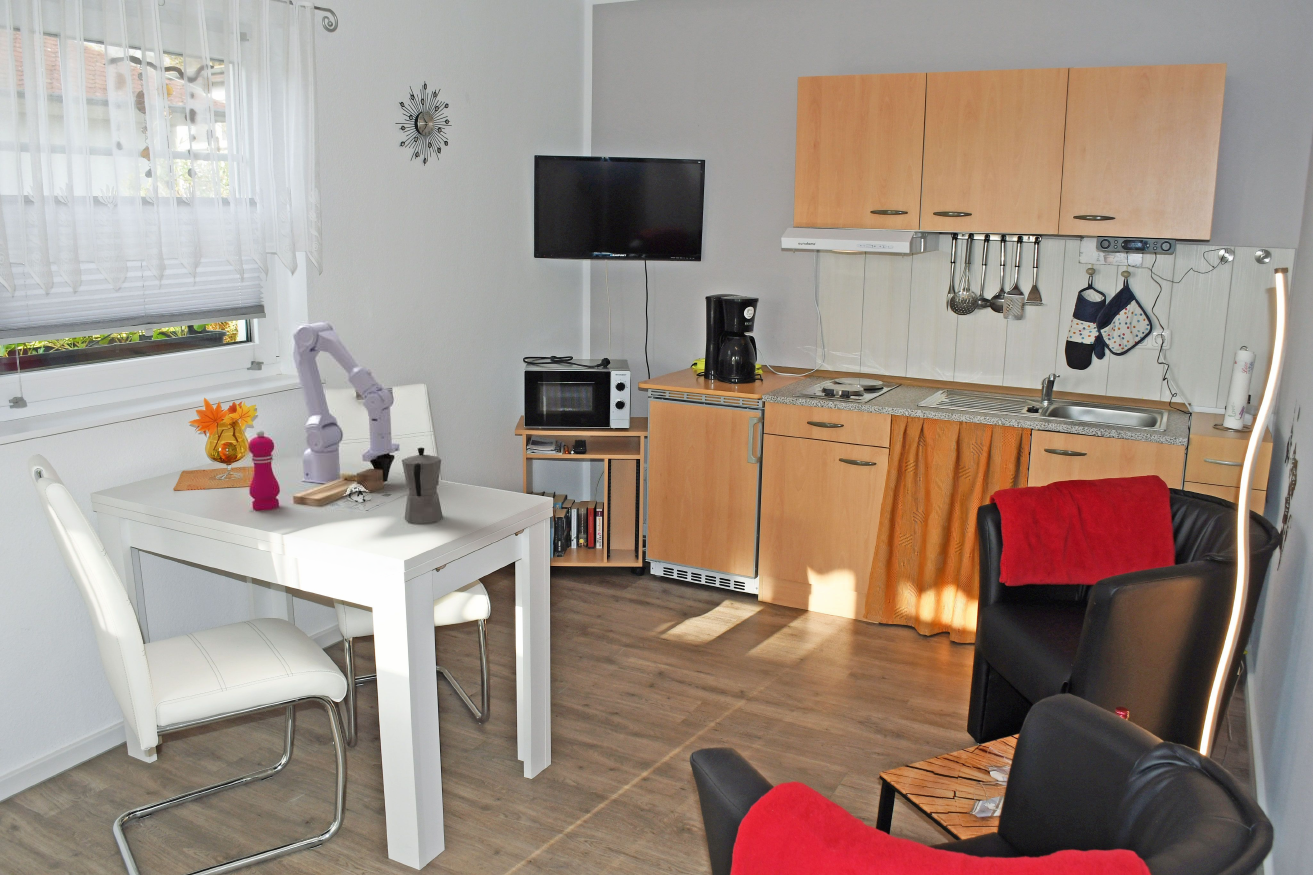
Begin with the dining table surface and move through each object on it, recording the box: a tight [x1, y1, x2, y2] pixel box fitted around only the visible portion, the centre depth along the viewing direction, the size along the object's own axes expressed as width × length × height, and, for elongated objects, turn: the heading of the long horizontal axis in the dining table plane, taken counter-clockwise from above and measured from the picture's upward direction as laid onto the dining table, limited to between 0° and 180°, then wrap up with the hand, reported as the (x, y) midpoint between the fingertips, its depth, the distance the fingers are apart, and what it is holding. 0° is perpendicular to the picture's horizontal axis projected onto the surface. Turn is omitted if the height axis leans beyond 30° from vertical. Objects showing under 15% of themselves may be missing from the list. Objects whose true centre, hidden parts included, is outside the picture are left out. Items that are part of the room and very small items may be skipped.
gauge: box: [340, 468, 384, 493], centre depth 267 cm, size 11×6×5 cm, turn 71°
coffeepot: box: [401, 447, 444, 525], centre depth 237 cm, size 15×9×18 cm, turn 6°
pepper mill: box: [248, 429, 281, 512], centre depth 246 cm, size 7×7×20 cm
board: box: [292, 478, 357, 507], centre depth 261 cm, size 8×21×2 cm, turn 161°
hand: (382, 481), depth 271 cm, fingers closed
